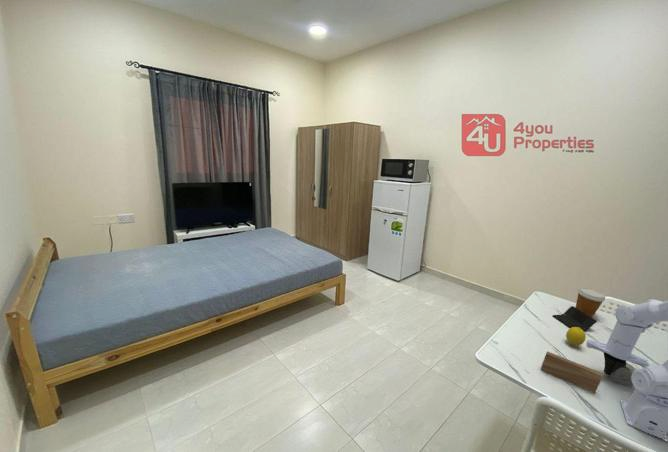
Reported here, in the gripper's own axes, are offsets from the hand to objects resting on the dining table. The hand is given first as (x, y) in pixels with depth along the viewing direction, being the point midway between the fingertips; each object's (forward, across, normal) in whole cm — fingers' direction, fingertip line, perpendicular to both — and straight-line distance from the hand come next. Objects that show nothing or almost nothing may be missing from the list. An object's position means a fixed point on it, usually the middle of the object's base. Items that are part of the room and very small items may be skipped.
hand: (606, 373), depth 93 cm
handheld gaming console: (+2, +7, -31) cm, 32 cm away
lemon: (+2, +8, -13) cm, 15 cm away
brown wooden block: (+1, +11, +11) cm, 16 cm away
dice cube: (+2, -4, -2) cm, 4 cm away
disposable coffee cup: (+2, +2, -44) cm, 44 cm away
